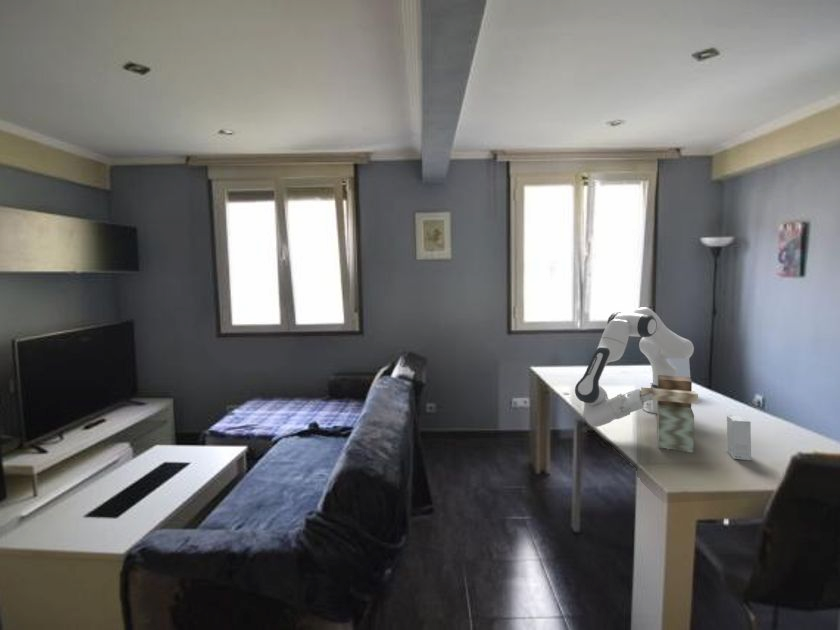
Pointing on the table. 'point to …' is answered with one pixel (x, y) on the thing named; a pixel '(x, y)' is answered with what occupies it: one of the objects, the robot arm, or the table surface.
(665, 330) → the robot arm
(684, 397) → the birch batten
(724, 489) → the table surface
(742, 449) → the skincare box
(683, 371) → the pale grey tall block
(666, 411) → the stepped stand
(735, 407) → the table surface
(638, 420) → the table surface
